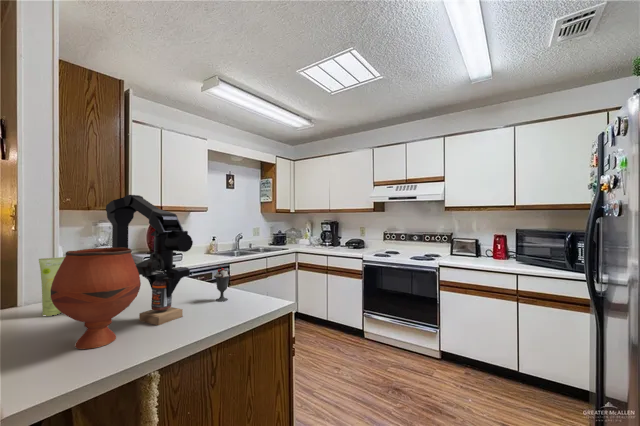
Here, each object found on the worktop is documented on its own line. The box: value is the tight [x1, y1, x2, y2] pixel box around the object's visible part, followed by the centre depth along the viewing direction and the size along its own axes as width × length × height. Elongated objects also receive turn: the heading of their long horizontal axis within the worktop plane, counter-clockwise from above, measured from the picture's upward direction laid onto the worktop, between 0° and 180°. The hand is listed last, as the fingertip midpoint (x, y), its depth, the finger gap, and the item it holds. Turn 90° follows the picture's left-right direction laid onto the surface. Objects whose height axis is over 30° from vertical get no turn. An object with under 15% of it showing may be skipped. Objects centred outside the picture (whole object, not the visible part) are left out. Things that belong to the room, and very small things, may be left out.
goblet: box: [51, 246, 142, 350], centre depth 76 cm, size 19×19×25 cm
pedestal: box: [138, 306, 184, 326], centre depth 94 cm, size 9×9×3 cm
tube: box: [38, 256, 65, 317], centre depth 96 cm, size 6×5×20 cm
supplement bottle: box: [150, 273, 173, 311], centre depth 94 cm, size 6×6×11 cm
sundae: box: [213, 264, 232, 303], centre depth 117 cm, size 7×7×15 cm
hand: (161, 296), depth 94 cm, fingers closed on supplement bottle, 6 cm apart
